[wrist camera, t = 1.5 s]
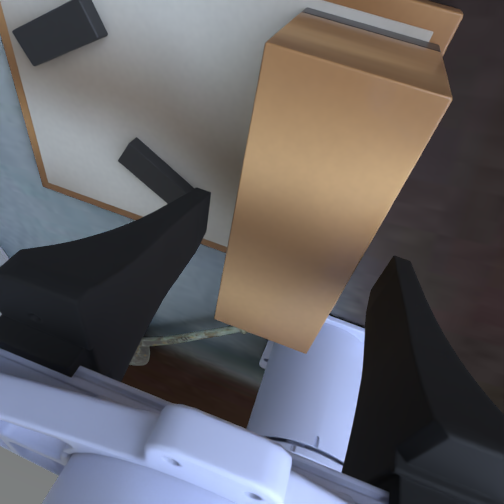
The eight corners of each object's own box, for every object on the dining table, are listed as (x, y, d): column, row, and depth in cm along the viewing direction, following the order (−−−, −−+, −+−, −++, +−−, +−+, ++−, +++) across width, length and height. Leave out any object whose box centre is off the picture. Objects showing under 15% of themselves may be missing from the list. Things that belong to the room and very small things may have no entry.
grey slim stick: (87, 309, 38) (129, 346, 41) (65, 336, 35) (112, 373, 39) (260, 282, 25) (301, 339, 28) (243, 321, 23) (290, 378, 26)
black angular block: (200, 193, 21) (195, 201, 20) (186, 207, 22) (180, 215, 21) (136, 136, 19) (128, 142, 19) (125, 154, 20) (117, 161, 20)
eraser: (324, 278, 22) (306, 354, 18) (246, 250, 22) (213, 319, 19) (440, 44, 13) (454, 98, 9) (306, 6, 13) (264, 41, 9)
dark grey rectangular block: (89, -7, 15) (77, -4, 15) (109, 35, 16) (99, 39, 16) (23, 27, 17) (10, 31, 17) (44, 63, 18) (33, 67, 18)
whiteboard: (326, 279, 23) (323, 290, 23) (51, 180, 25) (41, 187, 25) (462, 9, 13) (465, 14, 12) (-27, -126, 15) (-49, -128, 14)
